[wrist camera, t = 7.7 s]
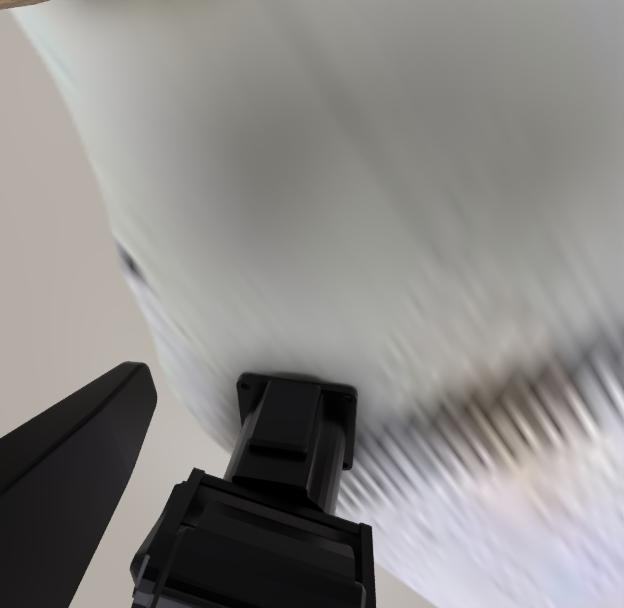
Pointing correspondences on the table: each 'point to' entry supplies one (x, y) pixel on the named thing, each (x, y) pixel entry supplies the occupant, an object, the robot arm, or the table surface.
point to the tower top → (18, 3)
